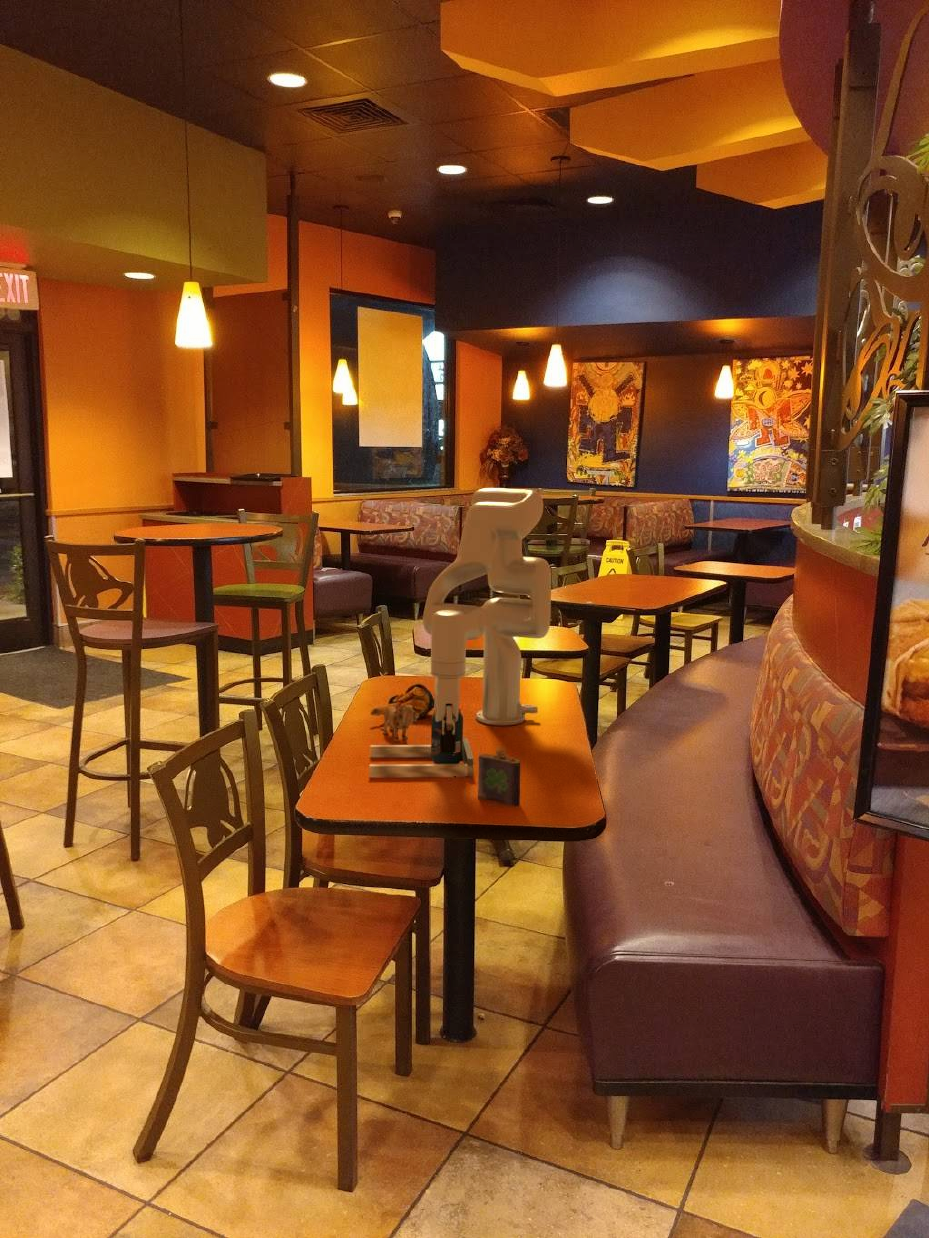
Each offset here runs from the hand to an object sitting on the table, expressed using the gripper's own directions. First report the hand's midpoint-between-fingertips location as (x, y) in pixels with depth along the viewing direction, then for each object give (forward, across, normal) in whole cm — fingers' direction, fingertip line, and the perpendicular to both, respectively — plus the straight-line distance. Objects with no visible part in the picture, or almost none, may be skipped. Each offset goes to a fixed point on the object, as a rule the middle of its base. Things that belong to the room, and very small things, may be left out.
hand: (446, 745), depth 214 cm
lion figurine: (+5, -22, -10) cm, 24 cm away
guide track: (+5, 0, -6) cm, 7 cm away
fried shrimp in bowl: (+5, -37, -9) cm, 38 cm away
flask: (+5, +21, +9) cm, 24 cm away
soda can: (+4, 0, 0) cm, 4 cm away
